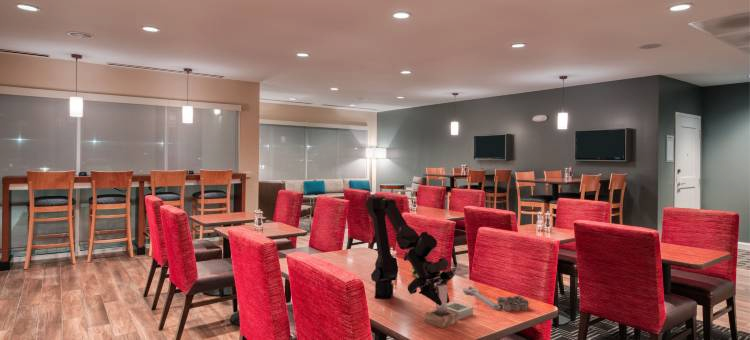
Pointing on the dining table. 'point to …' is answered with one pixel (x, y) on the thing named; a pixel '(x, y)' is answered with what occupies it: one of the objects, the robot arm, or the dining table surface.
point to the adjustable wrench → (481, 297)
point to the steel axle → (442, 293)
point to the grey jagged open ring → (512, 303)
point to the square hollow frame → (460, 309)
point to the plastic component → (417, 275)
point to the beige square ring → (441, 318)
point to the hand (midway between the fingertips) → (444, 303)
